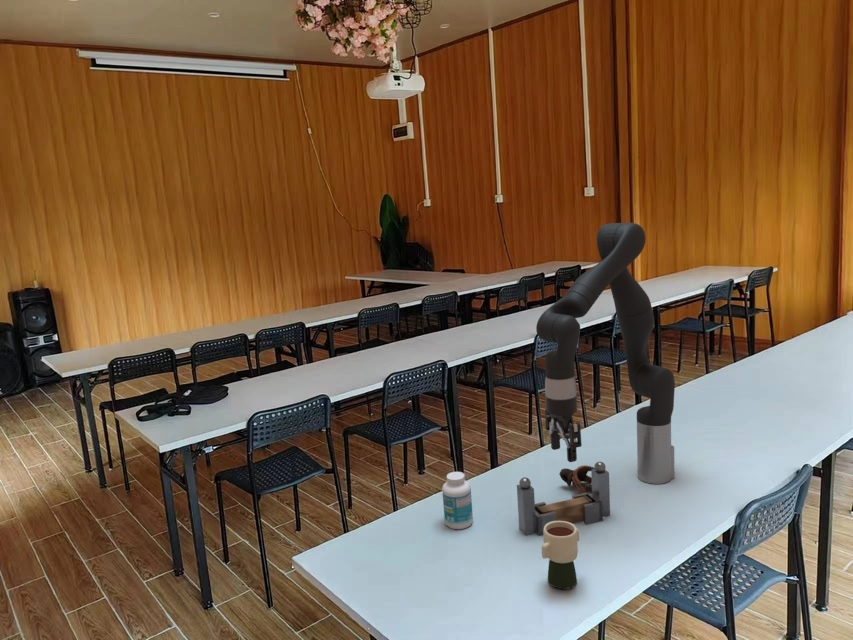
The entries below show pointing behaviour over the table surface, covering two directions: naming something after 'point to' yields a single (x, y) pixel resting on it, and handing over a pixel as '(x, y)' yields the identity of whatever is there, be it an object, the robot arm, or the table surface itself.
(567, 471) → the broken pottery vessel
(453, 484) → the pill bottle
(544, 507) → the walnut rail
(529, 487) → the ball knob clevis bracket
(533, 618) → the table surface
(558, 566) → the character mug
